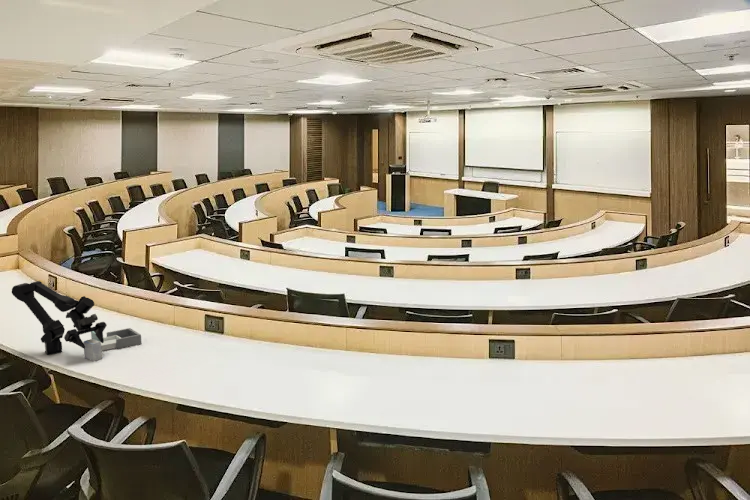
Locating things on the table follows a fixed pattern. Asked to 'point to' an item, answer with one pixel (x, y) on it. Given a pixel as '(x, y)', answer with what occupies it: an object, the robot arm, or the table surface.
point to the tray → (106, 341)
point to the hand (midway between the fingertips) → (93, 345)
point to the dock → (126, 338)
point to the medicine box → (92, 350)
